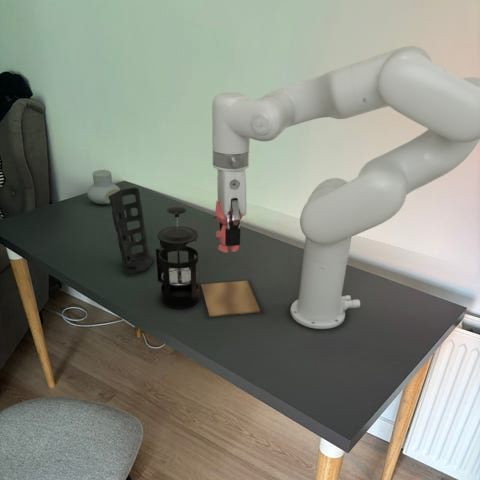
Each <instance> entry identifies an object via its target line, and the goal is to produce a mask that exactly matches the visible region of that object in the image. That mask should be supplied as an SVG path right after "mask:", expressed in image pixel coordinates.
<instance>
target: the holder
mask: <svg viewBox="0 0 480 480" xmlns="http://www.w3.org/2000/svg"><path fill="white" fill-rule="evenodd" d="M131 195H132V196H134V198H135V201H134V202H129V203H123V197H125V196H131ZM109 200H110V204H109V205H110V207H111V215H112V221H113V224H114V228H115V231H116V233H117V241H118V247H119V252H120V256H121V260H122V266H123V269H124V271H125V272H126V274H127V275H128V276H135V275H138V274H140V273H143V272H144V271H146V270H147V269H149V268H150V267H151V266H152V264H153V258H152V256H151V255H150V253H149V248H148V241H147V240H148V239H147V233H146V226H145V220H144V213H143V207H142V201H141V194H140V189H139V188H138V187H129V188H125V189H120V191H118V192H116V193H114V194H112V195H110V196H109ZM132 209H136V210H137V214H136V215H133V213H132ZM136 221H137V222H139V227H136V228H131V229H129V228H128V223H131V222H136ZM137 234H140V235H141V236H140V237H141V239H138V240H137V237H136V235H137ZM138 246H142V251H139V252H136V253H133V251H132V248H134V247H138ZM140 258H145V260H142V261H141V260H138V259H140ZM130 268H133V269H132V270H130ZM134 268H135V269H134Z"/></svg>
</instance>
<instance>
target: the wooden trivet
mask: <svg viewBox="0 0 480 480" xmlns="http://www.w3.org/2000/svg"><path fill="white" fill-rule="evenodd" d="M200 288H201V292H202V295H203V299H204V303H205V306H206V309H207V313H208V317H219V316H221V317H222V316H232V315H242V314H243V315H244V314H254V313H255V314H256V313H260V312H261V308H260V306H259V304H258V302H257V300H256V297H255V295H254V292H253V291H252V287H251V286H250V283H249V281H248V280H239V281H238V280H237V281H225V282H224V281H223V282H214V283H213V282H212V283H211V282H210V283H201V284H200Z"/></svg>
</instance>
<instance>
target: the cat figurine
mask: <svg viewBox="0 0 480 480" xmlns="http://www.w3.org/2000/svg"><path fill="white" fill-rule="evenodd" d="M228 213H229V215H232V212H228ZM213 214H214V215H215V217H214V218H212V219H216V220H217V221H218V222H219V224H220V223H222V224H223V226H222V229H221V231H220V229H218V230H217V231H216V232H215V237H216V238H217V239H218V240H219V242H220V243H221V244H220V243H219V245H218V246H217V250H219V251H221V252H222V253H228V252H229V250H230V251H231V252H234V253H235V252H237V251H238V250H239V248H240V245H235V246H229V247H230V248H228V246H226V244H225V228H227V222H226V216H224V215H223V213H222V209H221V205H220V202H218V200H216V202H215V211H214V213H213V212H212V215H213ZM239 215H240V221H241V220H242V218H243V217H244V216H243V215H241V213H240V211H239ZM232 219H233V218H230V222H231V221H232ZM240 236H241V233H240Z"/></svg>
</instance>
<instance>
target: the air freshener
mask: <svg viewBox="0 0 480 480" xmlns="http://www.w3.org/2000/svg"><path fill="white" fill-rule="evenodd" d="M92 180H93V184H92V185H90V186H89V187H88V189H87V191H86V194H87V198H88V199H89V200H90V201H91V202H92V203H94V204H97V205H101V206H102V205H105V206H109V205H110V200H109V196H110V195H112V194H114V193H116V192H118V191H120V190H121V188H120V187H119V186H118V185H117V184H115V183H113V178H112V171H110V170H108V169H97V170H95V171H93V172H92Z"/></svg>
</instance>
